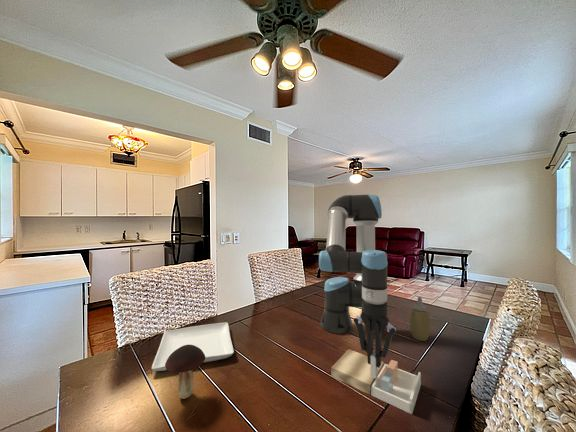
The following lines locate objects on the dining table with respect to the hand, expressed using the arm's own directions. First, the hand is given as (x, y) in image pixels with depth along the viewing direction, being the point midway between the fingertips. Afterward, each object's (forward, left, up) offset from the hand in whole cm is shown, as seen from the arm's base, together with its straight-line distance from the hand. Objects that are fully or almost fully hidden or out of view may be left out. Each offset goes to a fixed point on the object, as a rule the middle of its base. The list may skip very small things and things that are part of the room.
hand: (374, 375), depth 73 cm
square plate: (-64, -23, -4) cm, 68 cm away
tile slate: (+3, -1, -1) cm, 3 cm away
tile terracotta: (+3, +6, -1) cm, 7 cm away
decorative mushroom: (-43, -39, -4) cm, 58 cm away
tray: (+6, +3, -4) cm, 8 cm away
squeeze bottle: (+6, +43, -4) cm, 44 cm away
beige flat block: (-6, +3, -4) cm, 8 cm away
